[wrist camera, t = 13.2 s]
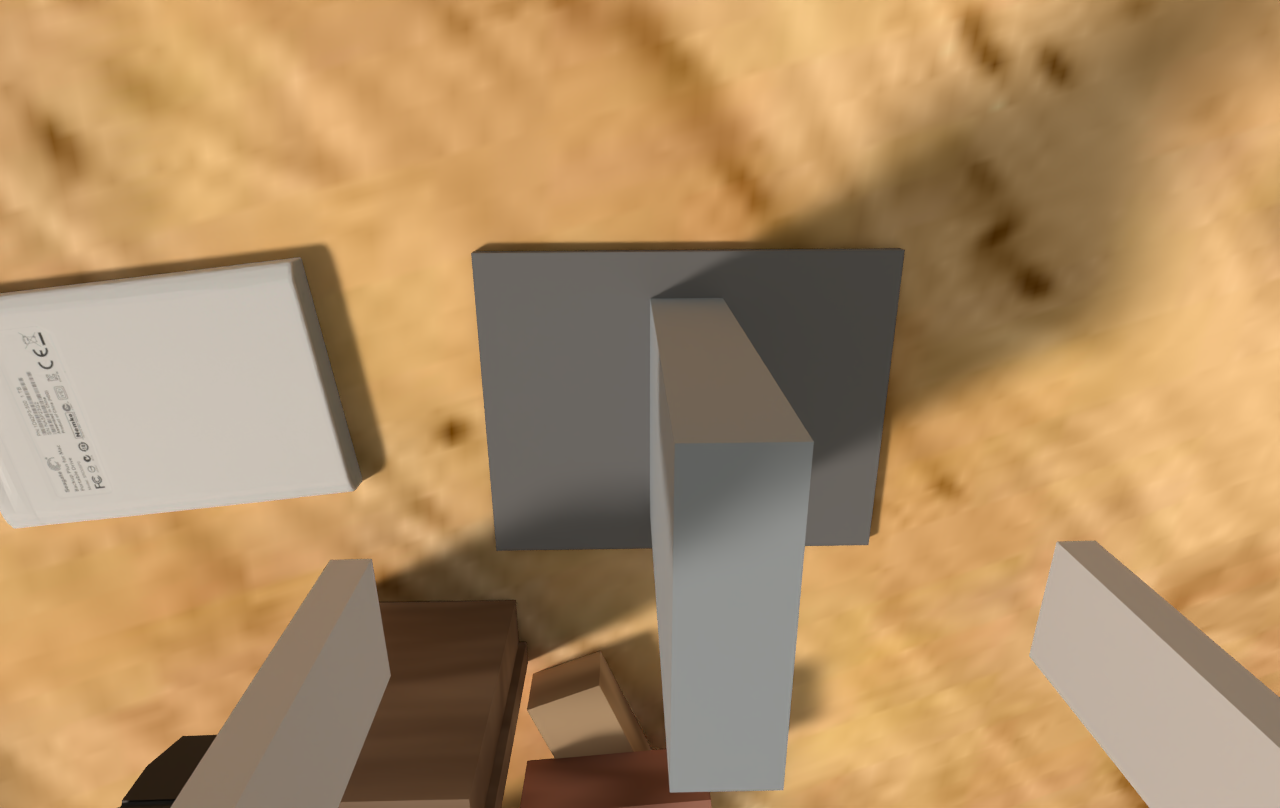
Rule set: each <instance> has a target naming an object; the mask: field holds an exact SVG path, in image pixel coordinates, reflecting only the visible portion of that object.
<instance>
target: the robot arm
mask: <svg viewBox="0 0 1280 808" xmlns="http://www.w3.org/2000/svg"><path fill="white" fill-rule="evenodd" d="M1029 656H1030V658H1031V659H1032V660H1033V661H1034V663H1035V664H1036V665H1037V666H1038V668H1039V669H1040V670H1041V671H1042V673H1043V674H1044V675H1045V677H1046V678H1047V679H1048V680H1049V682H1050V683H1051V684H1052V685H1053V687H1054V688H1055V689H1056V690H1057V692H1058V693H1059V694H1060V695H1061V697H1062V698H1063V699H1064V700H1065V702H1066V703H1067V704H1068V706H1069V707H1070V708H1071V709H1072V711H1073V712H1074V713H1075V714H1076V716H1077V717H1078V718H1079V719H1080V721H1081V722H1082V723H1083V724H1084V726H1085V727H1086V728H1087V729H1088V731H1089V732H1090V733H1091V734H1092V736H1093V737H1094V738H1095V740H1096V741H1097V742H1098V743H1099V745H1100V746H1101V747H1102V748H1103V750H1104V751H1105V752H1106V753H1107V755H1108V756H1109V757H1110V758H1111V760H1112V761H1113V762H1114V763H1115V765H1116V766H1117V767H1118V768H1119V770H1120V771H1121V772H1122V774H1123V775H1124V776H1125V777H1126V779H1127V780H1128V781H1129V782H1130V784H1131V785H1132V786H1133V787H1134V789H1135V790H1136V791H1137V792H1138V794H1139V795H1140V796H1141V797H1142V799H1143V800H1144V801H1145V803H1146V804H1147V805H1148V806H1149V808H1280V697H1278V696H1277V695H1276V694H1275V693H1274V692H1272V691H1271V690H1270V689H1269V688H1268V687H1267V686H1265V685H1264V684H1263V683H1262V682H1261V681H1260V680H1258V679H1257V678H1256V677H1255V676H1254V675H1253V674H1251V673H1250V672H1249V671H1248V670H1247V669H1245V668H1244V667H1243V666H1242V665H1241V664H1240V663H1238V662H1237V661H1236V660H1235V659H1234V658H1233V657H1231V656H1230V655H1229V654H1228V653H1227V652H1225V651H1224V650H1223V649H1222V648H1221V647H1220V646H1218V645H1217V644H1216V643H1215V642H1214V641H1213V640H1211V639H1210V638H1209V637H1208V636H1207V635H1206V634H1204V633H1203V632H1202V631H1201V630H1200V629H1198V628H1197V627H1196V626H1195V625H1194V624H1193V623H1191V622H1190V621H1189V620H1188V619H1187V618H1186V617H1184V616H1183V615H1182V614H1181V613H1180V612H1178V611H1177V610H1176V609H1175V608H1174V607H1173V606H1171V605H1170V604H1169V603H1168V602H1167V601H1166V600H1164V599H1163V598H1162V597H1161V596H1160V595H1159V594H1157V593H1156V592H1155V591H1154V590H1153V589H1151V588H1150V587H1149V586H1148V585H1147V584H1146V583H1144V582H1143V581H1142V580H1141V579H1140V578H1139V577H1137V576H1136V575H1135V574H1134V573H1133V572H1131V571H1130V570H1129V569H1128V568H1127V567H1126V566H1124V565H1123V564H1122V563H1121V562H1120V561H1119V560H1117V559H1116V558H1115V557H1114V556H1113V555H1112V554H1110V553H1109V552H1108V551H1107V550H1106V549H1104V548H1103V547H1102V546H1101V545H1100V544H1099V543H1097V542H1096V541H1063V542H1057V543H1056V547H1055V551H1054V555H1053V559H1052V563H1051V568H1050V572H1049V576H1048V580H1047V584H1046V588H1045V592H1044V597H1043V601H1042V605H1041V609H1040V613H1039V617H1038V621H1037V626H1036V630H1035V634H1034V638H1033V642H1032V646H1031V650H1030V654H1029ZM390 676H391V674H390V668H389V662H388V655H387V649H386V643H385V637H384V631H383V625H382V619H381V613H380V607H379V600H378V594H377V588H376V582H375V576H374V570H373V564H372V559H344V560H330V561H329V563H328V564H327V566H326V567H325V569H324V570H323V572H322V573H321V575H320V576H319V578H318V580H317V581H316V583H315V584H314V586H313V587H312V589H311V590H310V592H309V594H308V595H307V597H306V598H305V600H304V601H303V603H302V604H301V606H300V607H299V609H298V611H297V612H296V614H295V615H294V617H293V618H292V620H291V621H290V623H289V625H288V626H287V628H286V629H285V631H284V632H283V634H282V635H281V637H280V638H279V640H278V642H277V643H276V645H275V646H274V648H273V649H272V651H271V652H270V654H269V656H268V657H267V659H266V660H265V662H264V663H263V665H262V666H261V668H260V669H259V671H258V673H257V674H256V676H255V677H254V679H253V680H252V682H251V683H250V685H249V687H248V688H247V690H246V691H245V693H244V694H243V696H242V697H241V699H240V700H239V702H238V704H237V705H236V707H235V708H234V710H233V711H232V713H231V714H230V716H229V718H228V719H227V721H226V722H225V724H224V725H223V727H222V728H221V730H220V732H219V733H218V735H203V736H182V737H181V738H180V739H179V740H178V741H176V742H175V743H174V744H173V745H172V746H170V747H169V748H168V749H167V750H166V751H164V752H163V753H162V754H161V755H160V756H158V757H157V758H156V759H155V760H154V761H152V762H151V763H150V764H149V765H148V766H147V767H146V768H145V770H144V771H143V772H142V774H141V775H140V776H139V778H138V779H137V781H136V782H135V783H134V785H133V786H132V788H131V789H130V790H129V792H128V793H127V794H126V796H125V797H124V799H123V800H122V805H121V807H120V808H338V807H339V804H340V802H341V799H342V797H343V794H344V792H345V789H346V787H347V784H348V782H349V779H350V777H351V774H352V772H353V769H354V767H355V764H356V762H357V759H358V757H359V754H360V752H361V749H362V747H363V744H364V742H365V739H366V737H367V734H368V732H369V729H370V727H371V724H372V722H373V719H374V717H375V714H376V712H377V709H378V707H379V704H380V702H381V699H382V697H383V694H384V691H385V689H386V686H387V684H388V681H389V679H390Z"/></svg>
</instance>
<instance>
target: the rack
mask: <svg viewBox="0 0 1280 808" xmlns="http://www.w3.org/2000/svg"><path fill="white" fill-rule="evenodd" d="M379 607H380V613H381V619H382V625H383V631H384V637H385V643H386V649H387V655H388V662H389V668H390V674H391V676H390V679H389V681H388V684H387V686H386V689H385V691H384V694H383V697H382V699H381V702H380V704H379V707H378V709H377V712H376V714H375V717H374V719H373V722H372V724H371V727H370V729H369V732H368V734H367V737H366V739H365V742H364V744H363V747H362V749H361V752H360V754H359V757H358V759H357V762H356V764H355V767H354V769H353V772H352V774H351V777H350V779H349V782H348V784H347V787H346V789H345V792H344V794H343V797H342V799H341V802H340V804H339V807H338V808H501V806H502V801H503V795H504V790H505V784H506V779H507V774H508V768H509V763H510V757H511V752H512V746H513V741H514V735H515V730H516V724H517V719H518V713H519V708H520V703H521V697H522V692H523V686H524V681H525V675H526V670H527V664H528V657H527V643H526V642H519V637H518V624H517V611H516V600H499V601H438V602H379Z"/></svg>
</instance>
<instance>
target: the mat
mask: <svg viewBox="0 0 1280 808" xmlns="http://www.w3.org/2000/svg"><path fill="white" fill-rule="evenodd" d="M904 252H905V250H903V249H900V248H886V249H743V250H600V251H474V252H472V253H471V256H472V268H473V279H474V291H475V303H476V315H477V327H478V338H479V350H480V362H481V374H482V386H483V397H484V409H485V421H486V433H487V444H488V456H489V468H490V480H491V492H492V503H493V515H494V527H495V539H496V551H502V550H569V549H635V548H652V536H651V522H650V299H651V298H723V299H724V301H725V302H726V304H727V305H728V307H729V309H730V310H731V312H732V313H733V315H734V316H735V318H736V320H737V321H738V323H739V324H740V326H741V328H742V329H743V331H744V332H745V334H746V335H747V337H748V339H749V340H750V342H751V343H752V345H753V347H754V348H755V350H756V351H757V353H758V354H759V356H760V358H761V359H762V361H763V362H764V364H765V365H766V367H767V369H768V370H769V372H770V373H771V375H772V377H773V378H774V380H775V381H776V383H777V384H778V386H779V388H780V389H781V391H782V392H783V394H784V396H785V397H786V399H787V400H788V402H789V403H790V405H791V407H792V408H793V410H794V411H795V413H796V414H797V416H798V418H799V419H800V421H801V422H802V424H803V426H804V427H805V429H806V430H807V432H808V433H809V435H810V437H811V438H812V440H813V441H814V445H813V457H812V468H811V479H810V491H809V502H808V514H807V525H806V536H805V546H834V545H868V544H869V536H870V527H871V519H872V511H873V503H874V495H875V487H876V479H877V471H878V463H879V454H880V446H881V438H882V430H883V422H884V414H885V406H886V398H887V390H888V381H889V373H890V365H891V357H892V349H893V341H894V333H895V325H896V316H897V308H898V300H899V292H900V284H901V276H902V268H903V260H904Z"/></svg>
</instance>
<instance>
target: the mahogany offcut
mask: <svg viewBox="0 0 1280 808" xmlns="http://www.w3.org/2000/svg"><path fill="white" fill-rule="evenodd" d="M520 808H711V798H710V792H673V793H670V789H669V775H668V761H667V749H659V750H648V751H636V752H624V753H613V754H602V755H591V756H580V757H569V758H558V759H555V758H554V759H542V760H530V761H527V767H526V773H525V779H524V786H523V792H522V798H521V804H520Z"/></svg>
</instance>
